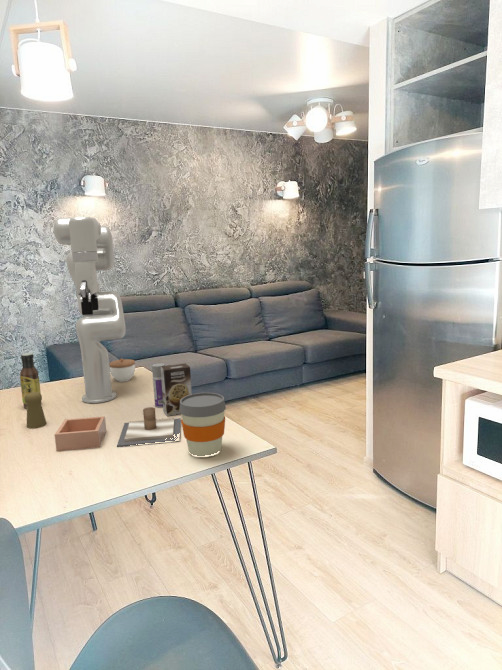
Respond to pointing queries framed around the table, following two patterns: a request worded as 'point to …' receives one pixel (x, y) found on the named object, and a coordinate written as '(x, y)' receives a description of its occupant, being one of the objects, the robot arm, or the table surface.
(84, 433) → the dish
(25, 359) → the sauce bottle
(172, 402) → the coffee box
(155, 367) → the container
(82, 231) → the robot arm
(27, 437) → the table surface
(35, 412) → the cork
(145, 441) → the mat
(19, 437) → the table surface
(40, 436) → the table surface
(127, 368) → the lidded jar
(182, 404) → the reusable coffee cup
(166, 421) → the lid
